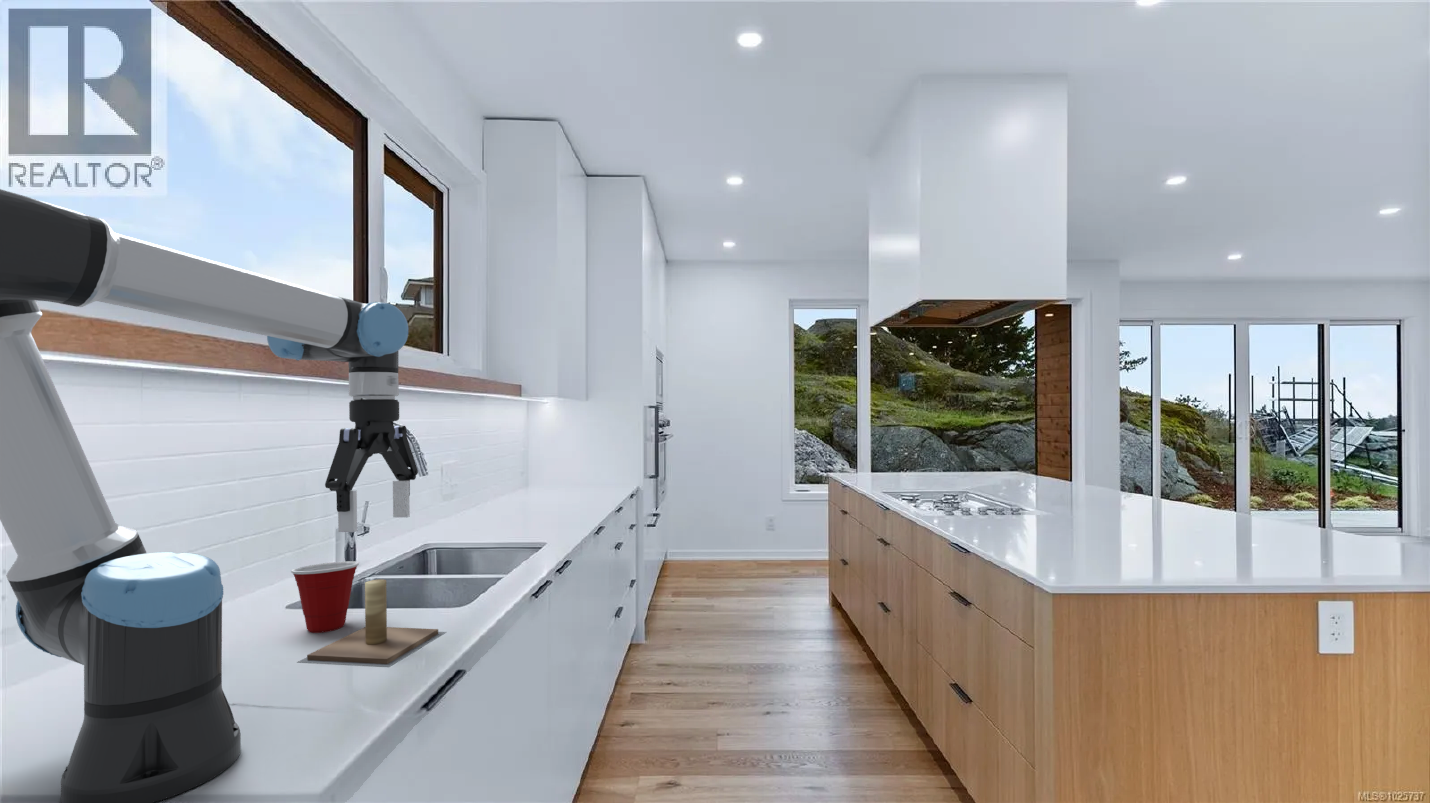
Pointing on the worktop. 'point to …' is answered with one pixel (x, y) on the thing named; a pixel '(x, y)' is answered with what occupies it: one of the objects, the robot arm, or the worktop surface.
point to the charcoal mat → (374, 663)
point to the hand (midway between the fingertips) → (376, 524)
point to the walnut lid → (374, 634)
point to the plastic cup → (325, 594)
